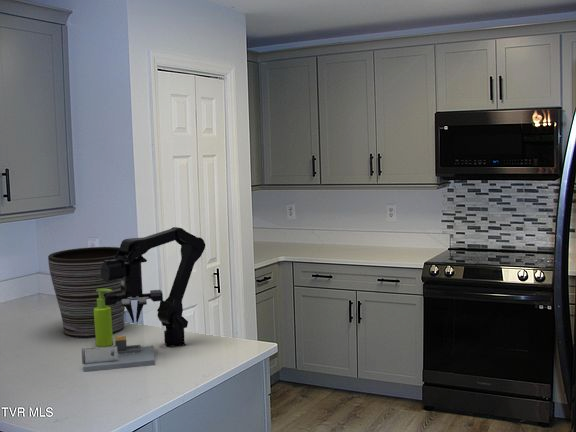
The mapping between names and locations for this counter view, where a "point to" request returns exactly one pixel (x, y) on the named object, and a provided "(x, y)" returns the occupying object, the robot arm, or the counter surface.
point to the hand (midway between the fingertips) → (135, 322)
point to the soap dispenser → (103, 321)
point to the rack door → (101, 354)
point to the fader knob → (121, 343)
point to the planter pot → (83, 289)
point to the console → (123, 359)
